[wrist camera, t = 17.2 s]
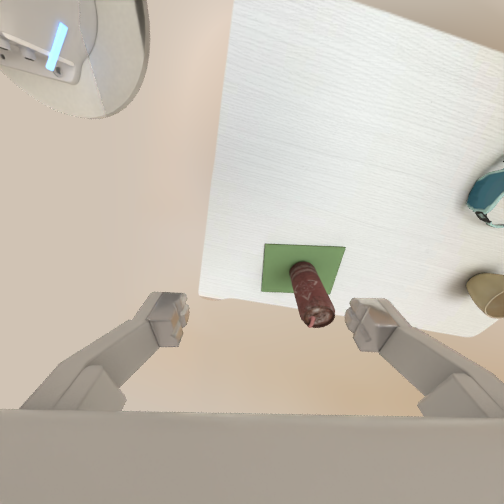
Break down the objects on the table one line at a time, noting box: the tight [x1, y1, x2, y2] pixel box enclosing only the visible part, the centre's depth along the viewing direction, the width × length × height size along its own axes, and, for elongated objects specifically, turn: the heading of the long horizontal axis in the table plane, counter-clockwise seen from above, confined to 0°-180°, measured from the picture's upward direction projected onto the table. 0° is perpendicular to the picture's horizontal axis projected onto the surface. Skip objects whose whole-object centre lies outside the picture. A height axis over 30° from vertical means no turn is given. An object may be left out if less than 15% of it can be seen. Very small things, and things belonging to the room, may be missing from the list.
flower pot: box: [466, 273, 504, 319], centre depth 41 cm, size 10×10×7 cm
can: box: [289, 262, 335, 328], centre depth 37 cm, size 6×6×14 cm
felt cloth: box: [262, 244, 345, 294], centre depth 43 cm, size 18×14×1 cm
